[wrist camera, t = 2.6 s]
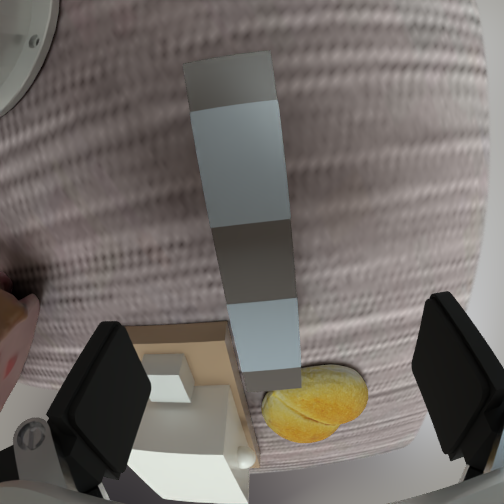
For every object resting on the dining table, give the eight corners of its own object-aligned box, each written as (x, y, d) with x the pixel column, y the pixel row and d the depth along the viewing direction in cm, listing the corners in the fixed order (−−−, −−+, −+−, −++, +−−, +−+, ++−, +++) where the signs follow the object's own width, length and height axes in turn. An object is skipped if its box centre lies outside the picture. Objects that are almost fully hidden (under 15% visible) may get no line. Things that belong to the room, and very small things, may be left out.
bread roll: (381, 377, 25) (392, 412, 22) (313, 426, 29) (317, 459, 25) (312, 343, 23) (319, 384, 20) (245, 401, 27) (243, 438, 23)
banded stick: (208, 75, 15) (181, 64, 9) (266, 66, 15) (271, 50, 9) (249, 324, 22) (246, 392, 17) (293, 320, 22) (302, 388, 16)
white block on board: (112, 326, 23) (72, 407, 15) (238, 320, 22) (230, 417, 15) (183, 452, 32) (173, 510, 24) (267, 452, 31) (267, 514, 24)
